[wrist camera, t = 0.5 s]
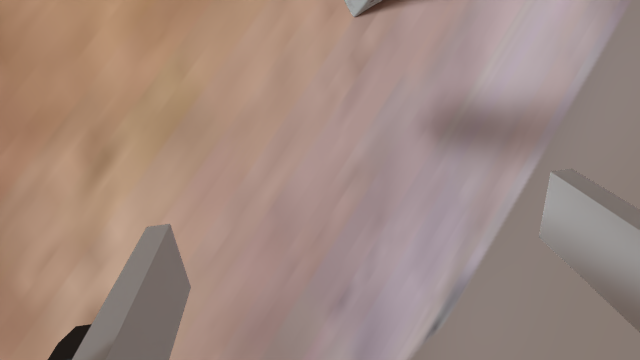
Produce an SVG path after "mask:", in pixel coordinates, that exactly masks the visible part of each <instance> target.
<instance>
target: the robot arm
mask: <svg viewBox="0 0 640 360" xmlns="http://www.w3.org/2000/svg"><path fill="white" fill-rule="evenodd" d="M539 238H540V239H541V240H542V241H543V242H544V243H545V244H546V245H548V246H549V247H550V248H551V249H552V250H553V251H554V252H555V253H556V254H557V255H558V256H559V257H560V258H562V260H564V262H566V263H567V264H568V265H569V266H570V267H571V268H572V269H573V270H574V271H575V272H576V273H577V274H578V275H580V277H581V278H582V279H584V280H585V281H586V282H587V283H588V284H589V285H590V286H591V287H592V288H593V289H594V290H595V291H596V292H597V293H598V294H600V295H601V296H602V297H603V298H604V299H605V300H606V301H607V302H608V303H609V304H610V305H611V306H612V307H613V308H614V309H615V310H616V311H617V312H619V313H620V314H621V315H622V316H623V317H624V318H625V319H626V320H627V321H628V322H629V323H630V324H631V325H632V326H633V327H635V329H637V330H638V331H639V332H640V209H638V208H636V207H635V206H633V205H631V204H630V203H628V202H626V201H625V200H623V199H621V198H620V197H618V196H616V195H615V194H613V193H611V192H610V191H608V190H606V189H605V188H603V187H601V186H600V185H598V184H596V183H595V182H593V181H591V180H590V179H588V178H586V177H585V176H583V175H581V174H580V173H578V172H577V171H575V170H573V169H567V170H560V171H552V172H551V173H550V179H549V184H548V190H547V196H546V201H545V206H544V212H543V217H542V223H541V228H540V234H539ZM190 288H191V287H190V283H189V280H188V277H187V274H186V271H185V268H184V265H183V262H182V259H181V256H180V253H179V250H178V247H177V244H176V241H175V238H174V234H173V231H172V228H171V225H170V224H165V225H157V226H150V227H147V228H146V229H145V231H144V233H143V235H142V236H141V238H140V240H139V242H138V243H137V245H136V247H135V249H134V251H133V252H132V254H131V256H130V258H129V259H128V261H127V263H126V265H125V266H124V268H123V270H122V272H121V274H120V275H119V277H118V279H117V281H116V282H115V284H114V286H113V288H112V290H111V291H110V293H109V295H108V297H107V298H106V300H105V302H104V304H103V305H102V307H101V309H100V311H99V313H98V314H97V316H96V318H95V320H94V321H93V323H92V324H90V325H83V326H76V327H75V328H74V329H73V330H72V331H71V332H70V333H69V334H68V335H67V336H65V337H64V338H63V339H62V340H61V341H60V342H59V343H58V344H57V346H56V347H55V349H54V351H53V352H52V354H51V355H50V357H49V359H48V360H169V358H170V355H171V351H172V348H173V345H174V341H175V338H176V335H177V331H178V328H179V325H180V321H181V318H182V315H183V311H184V308H185V305H186V301H187V298H188V295H189V291H190Z"/></svg>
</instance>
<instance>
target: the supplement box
mask: <svg viewBox="0 0 640 360" xmlns="http://www.w3.org/2000/svg"><path fill="white" fill-rule="evenodd" d="M344 1H345V2H346V4H347V6H348V8H349V10H350V12H351V14H352V16H353V17H356V16H358V15H359V14H361V13H362V12H364V11H365V10H367V9H368V8H370V7H372V6H373V5H375V4H377V3H379V2H380V1H382V0H344Z"/></svg>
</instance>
